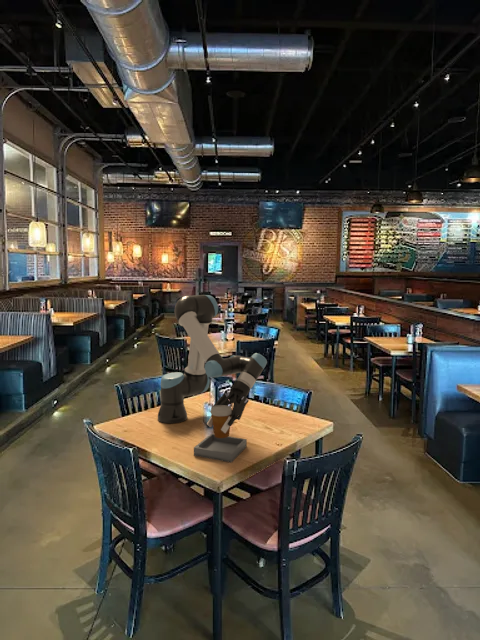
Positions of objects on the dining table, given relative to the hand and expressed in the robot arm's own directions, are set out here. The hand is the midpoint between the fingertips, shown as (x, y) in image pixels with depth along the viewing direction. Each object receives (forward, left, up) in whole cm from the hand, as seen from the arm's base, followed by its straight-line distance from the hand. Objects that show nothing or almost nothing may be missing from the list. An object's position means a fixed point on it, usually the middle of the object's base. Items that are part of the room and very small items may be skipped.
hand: (215, 428), depth 183 cm
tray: (+1, +3, -11) cm, 11 cm away
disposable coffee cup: (+1, +3, -4) cm, 5 cm away
